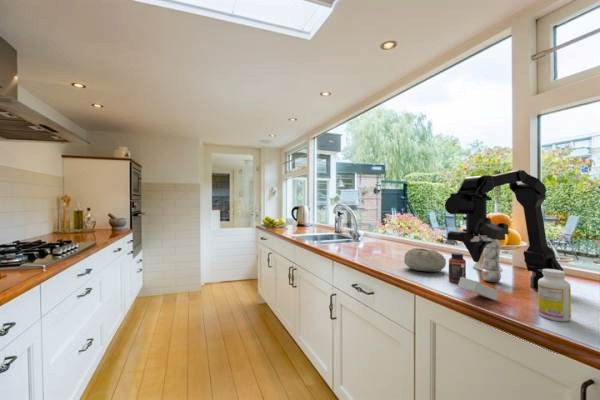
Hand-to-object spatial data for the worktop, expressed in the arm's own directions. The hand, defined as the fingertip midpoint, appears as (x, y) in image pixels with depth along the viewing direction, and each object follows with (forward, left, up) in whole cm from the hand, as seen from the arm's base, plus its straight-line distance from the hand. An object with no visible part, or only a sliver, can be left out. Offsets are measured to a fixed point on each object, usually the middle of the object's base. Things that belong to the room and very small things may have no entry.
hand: (476, 261), depth 92 cm
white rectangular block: (-4, -3, -11) cm, 12 cm away
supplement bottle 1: (+2, -21, -12) cm, 24 cm away
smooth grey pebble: (+13, -37, -12) cm, 41 cm away
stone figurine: (-11, -27, -12) cm, 31 cm away
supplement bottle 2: (-17, +9, -12) cm, 23 cm away
